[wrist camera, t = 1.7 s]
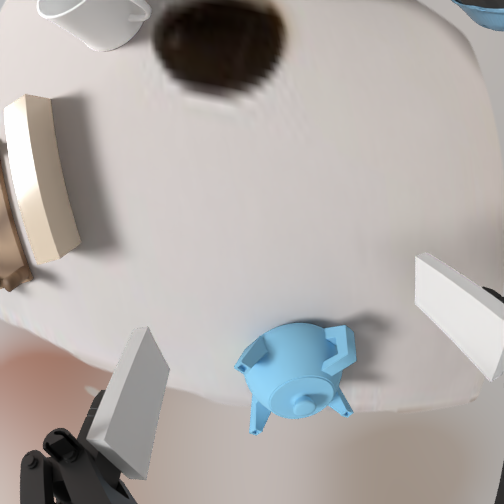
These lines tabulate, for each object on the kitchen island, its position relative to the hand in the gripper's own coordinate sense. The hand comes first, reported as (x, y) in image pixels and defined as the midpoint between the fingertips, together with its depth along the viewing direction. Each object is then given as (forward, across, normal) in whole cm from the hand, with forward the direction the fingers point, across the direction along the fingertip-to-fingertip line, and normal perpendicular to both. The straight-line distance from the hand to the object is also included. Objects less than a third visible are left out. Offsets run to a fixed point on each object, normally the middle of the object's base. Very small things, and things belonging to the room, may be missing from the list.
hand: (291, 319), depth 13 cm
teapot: (+22, 0, -21) cm, 31 cm away
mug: (+22, -10, +28) cm, 37 cm away
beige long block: (+22, -24, +13) cm, 35 cm away
